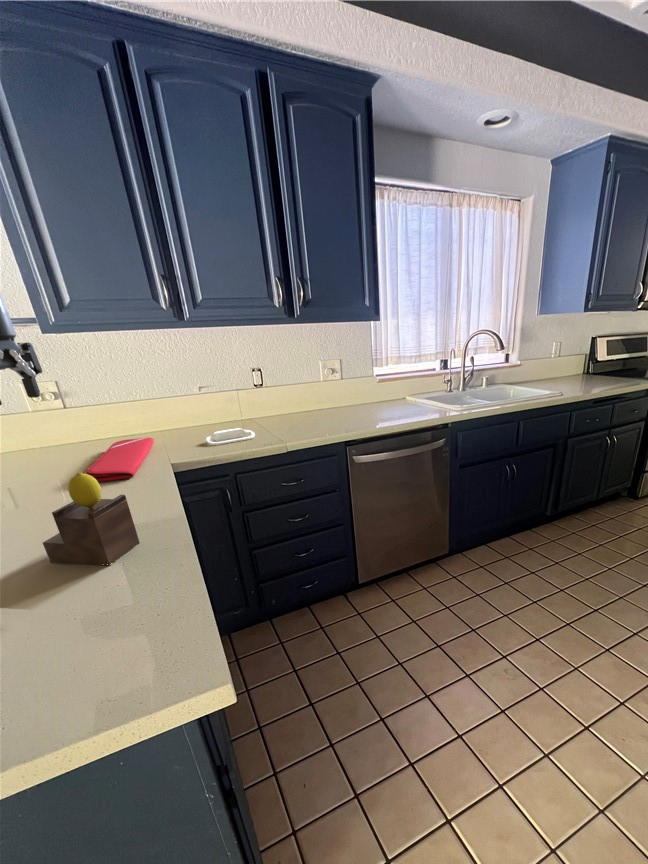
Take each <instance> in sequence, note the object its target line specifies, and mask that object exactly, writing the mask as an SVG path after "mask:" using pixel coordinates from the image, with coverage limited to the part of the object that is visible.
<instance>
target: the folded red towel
mask: <svg viewBox="0 0 648 864" xmlns="http://www.w3.org/2000/svg"><path fill="white" fill-rule="evenodd" d="M154 443H155V438H154V437H153V438H152V437H139V438H129V439H122V440H118V441H115V442H113V443H112V444H110V446H109V447H108V448H107V450H105V451H104V452H103V454H101V455H100V457H98V458H97V459H96V461H94V462H93V463H92V464H91V465H90V466H89V467H88V468H87V469H86V471H85V472H86V473H85V474H87V475H90V476H92V477H94V478H95V479H96V480H97V482H98V483H102V482H109V481H111V482H112V481H119V480H128V479H132V478H134V476H135V475H136V473H137V471H138V470H139V469H140V468H141V466H142V464H143V463H144V461H145V459H146V458H147V456H148V455H149V453H150V451H151V449H152V447H153V445H154Z"/></svg>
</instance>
